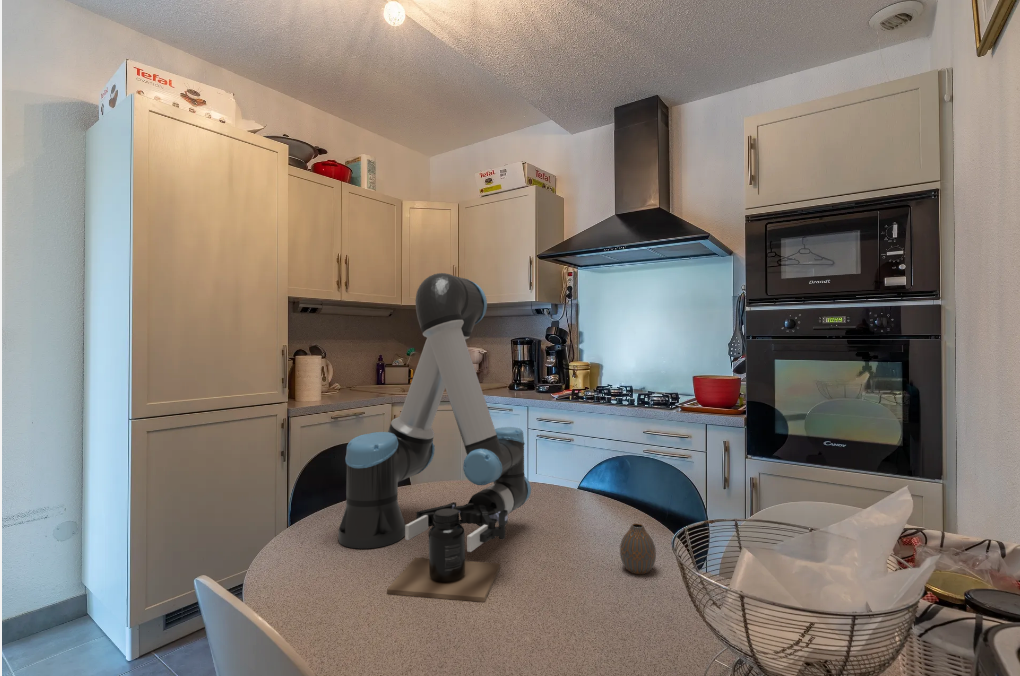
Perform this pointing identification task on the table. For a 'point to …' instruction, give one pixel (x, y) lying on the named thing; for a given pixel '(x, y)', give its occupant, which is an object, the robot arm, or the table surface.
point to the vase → (637, 550)
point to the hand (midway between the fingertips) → (436, 538)
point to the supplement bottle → (446, 547)
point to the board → (466, 588)
